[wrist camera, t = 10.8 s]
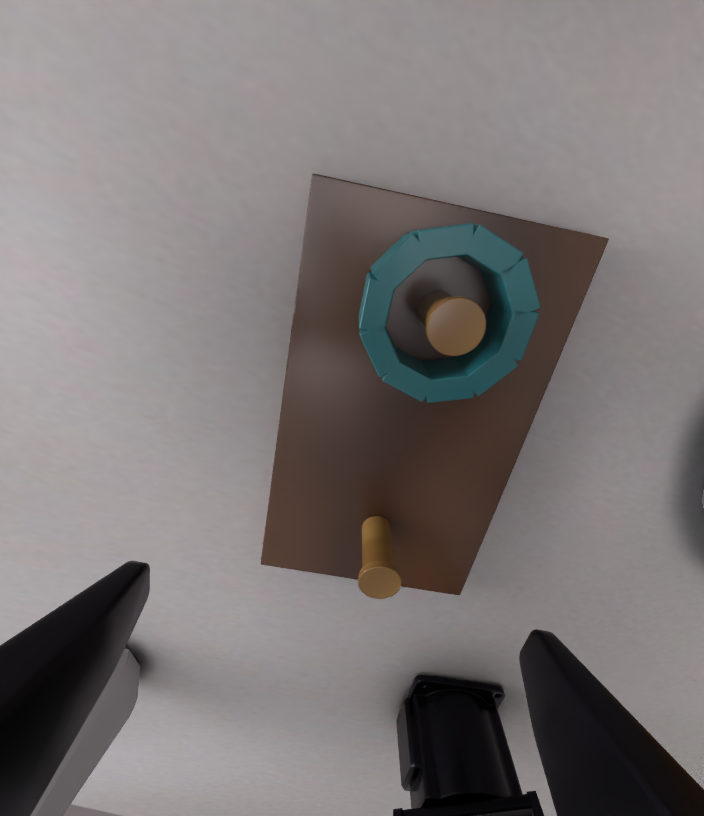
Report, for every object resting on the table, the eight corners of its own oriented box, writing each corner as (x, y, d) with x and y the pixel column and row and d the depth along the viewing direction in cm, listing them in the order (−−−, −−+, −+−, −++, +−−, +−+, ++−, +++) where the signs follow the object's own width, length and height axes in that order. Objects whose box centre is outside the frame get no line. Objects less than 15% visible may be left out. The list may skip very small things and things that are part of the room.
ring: (535, 242, 16) (567, 243, 13) (482, 394, 18) (501, 417, 16) (379, 208, 15) (383, 203, 13) (348, 368, 18) (346, 388, 16)
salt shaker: (77, 622, 26) (-162, 948, 14) (161, 649, 27) (5, 975, 15) (61, 672, 28) (-158, 992, 16) (139, 696, 29) (-13, 1014, 17)
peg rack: (595, 238, 17) (682, 238, 12) (456, 582, 24) (477, 658, 20) (314, 176, 16) (297, 153, 11) (264, 552, 24) (242, 624, 19)
